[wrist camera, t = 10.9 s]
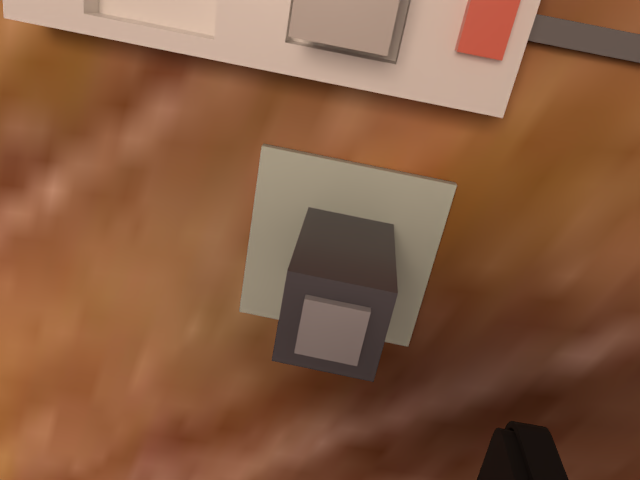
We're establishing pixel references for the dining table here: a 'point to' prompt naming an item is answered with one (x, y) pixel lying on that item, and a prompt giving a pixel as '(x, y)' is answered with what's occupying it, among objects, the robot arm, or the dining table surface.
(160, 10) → the power strip
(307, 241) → the block
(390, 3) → the small plug
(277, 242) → the felt pad
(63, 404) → the dining table surface
